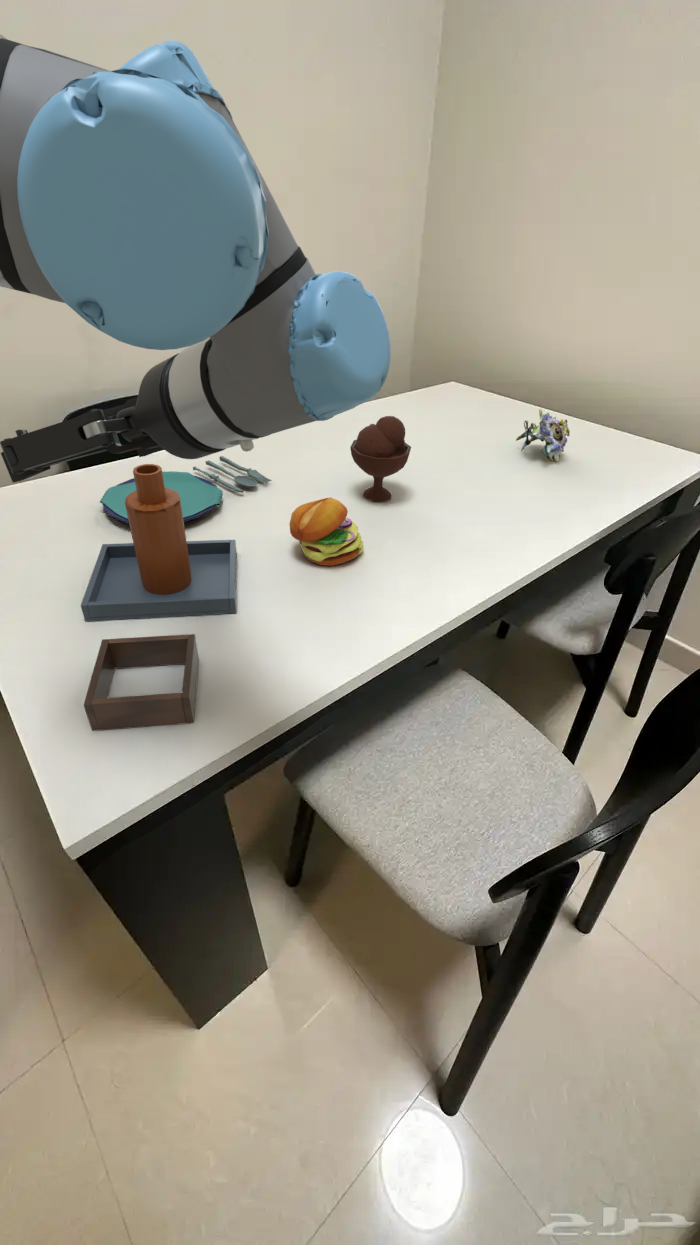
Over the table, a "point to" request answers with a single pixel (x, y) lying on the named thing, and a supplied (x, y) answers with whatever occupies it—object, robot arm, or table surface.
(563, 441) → the passion flower
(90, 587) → the tray
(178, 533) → the bottle
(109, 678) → the tray
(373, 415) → the table surface
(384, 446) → the ice cream bowl
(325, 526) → the cheeseburger
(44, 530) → the table surface
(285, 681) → the table surface
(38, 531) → the table surface
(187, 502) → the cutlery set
